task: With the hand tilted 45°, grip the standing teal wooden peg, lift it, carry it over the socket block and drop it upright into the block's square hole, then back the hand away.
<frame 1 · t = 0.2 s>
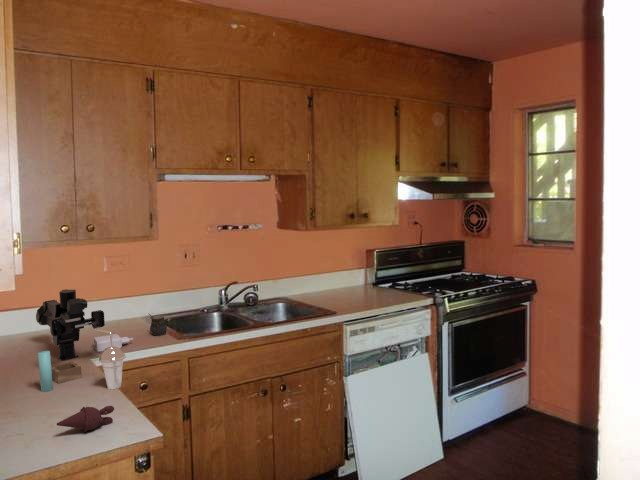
hand: (85, 328, 200), 17 cm above the worktop, tool horizontal, fingers open, 9 cm apart
mate gourd: (158, 335, 249), on the worktop
socket block: (66, 377, 197), on the worktop
icecream: (87, 431, 155), on the worktop
peg: (47, 389, 187), on the worktop
cup with straw: (114, 386, 188), on the worktop
charger: (115, 347, 233), on the worktop
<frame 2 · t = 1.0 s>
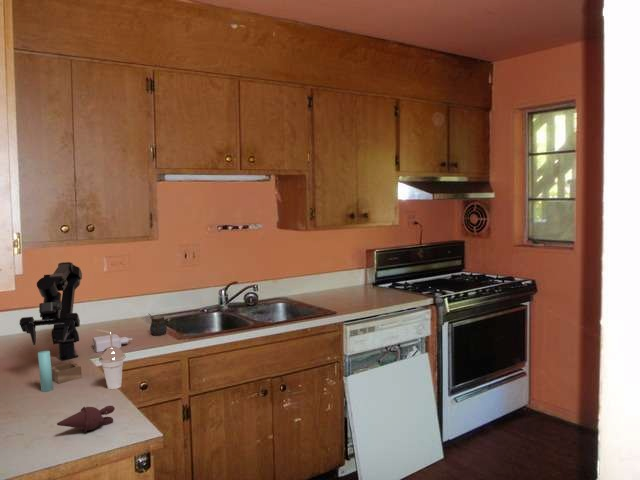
hand: (48, 343, 193), 14 cm above the worktop, tool tilted 45°, fingers open, 9 cm apart
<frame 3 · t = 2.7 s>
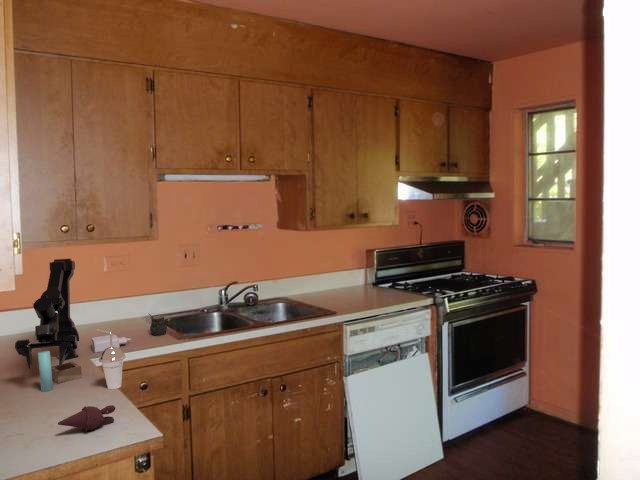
hand: (45, 367, 186), 8 cm above the worktop, tool tilted 45°, fingers open, 9 cm apart
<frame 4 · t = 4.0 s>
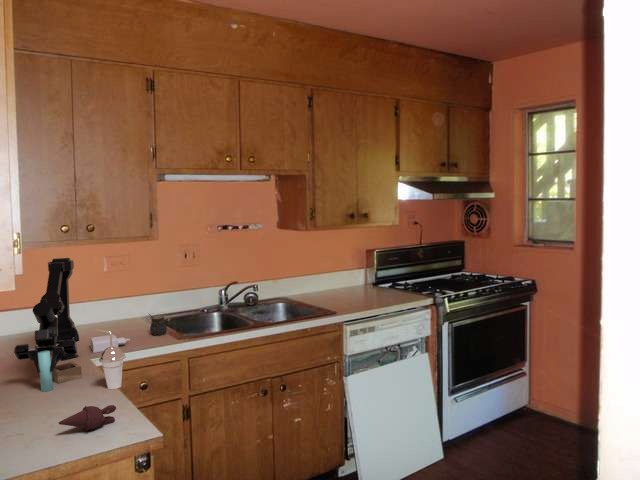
hand: (44, 372, 185), 7 cm above the worktop, tool tilted 45°, fingers closed on peg, 4 cm apart
peg: (47, 389, 187), on the worktop, touching gripper
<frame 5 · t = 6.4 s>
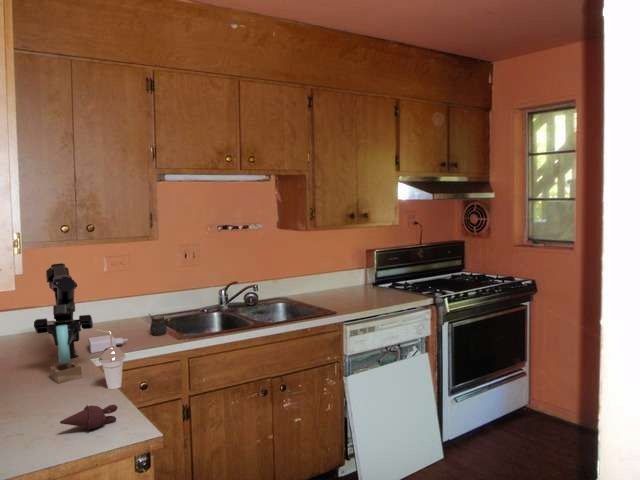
hand: (62, 344, 195), 12 cm above the worktop, tool tilted 45°, fingers closed on peg, 4 cm apart
peg: (64, 361, 197), point 6 cm above the worktop, touching gripper
when the fingers open (9 cm above the worktop, at t = 7.3 s): peg drops 2 cm, resting in socket block.
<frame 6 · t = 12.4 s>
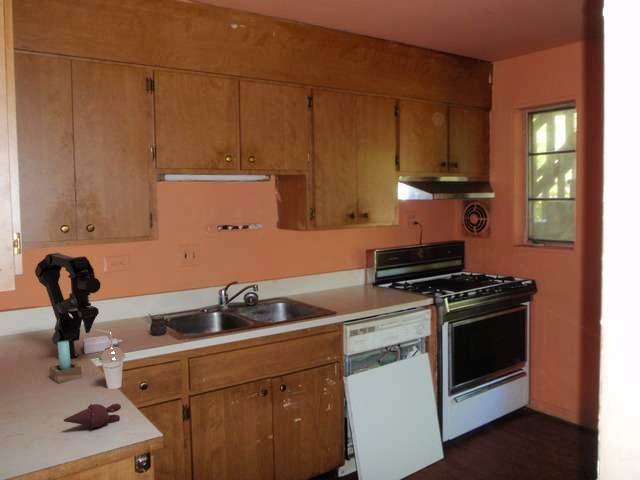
hand: (83, 330, 210), 13 cm above the worktop, tool pointing down, fingers open, 9 cm apart
icecream: (94, 428, 157), on the worktop
peg: (66, 377, 198), resting in socket block
charger: (103, 349, 231), on the worktop
everything else where it was.
at the end: peg 0.0 cm off-centre on the socket block, point 0.0 cm above the socket block's base; peg tilted 0°; the gripper is holding nothing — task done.
